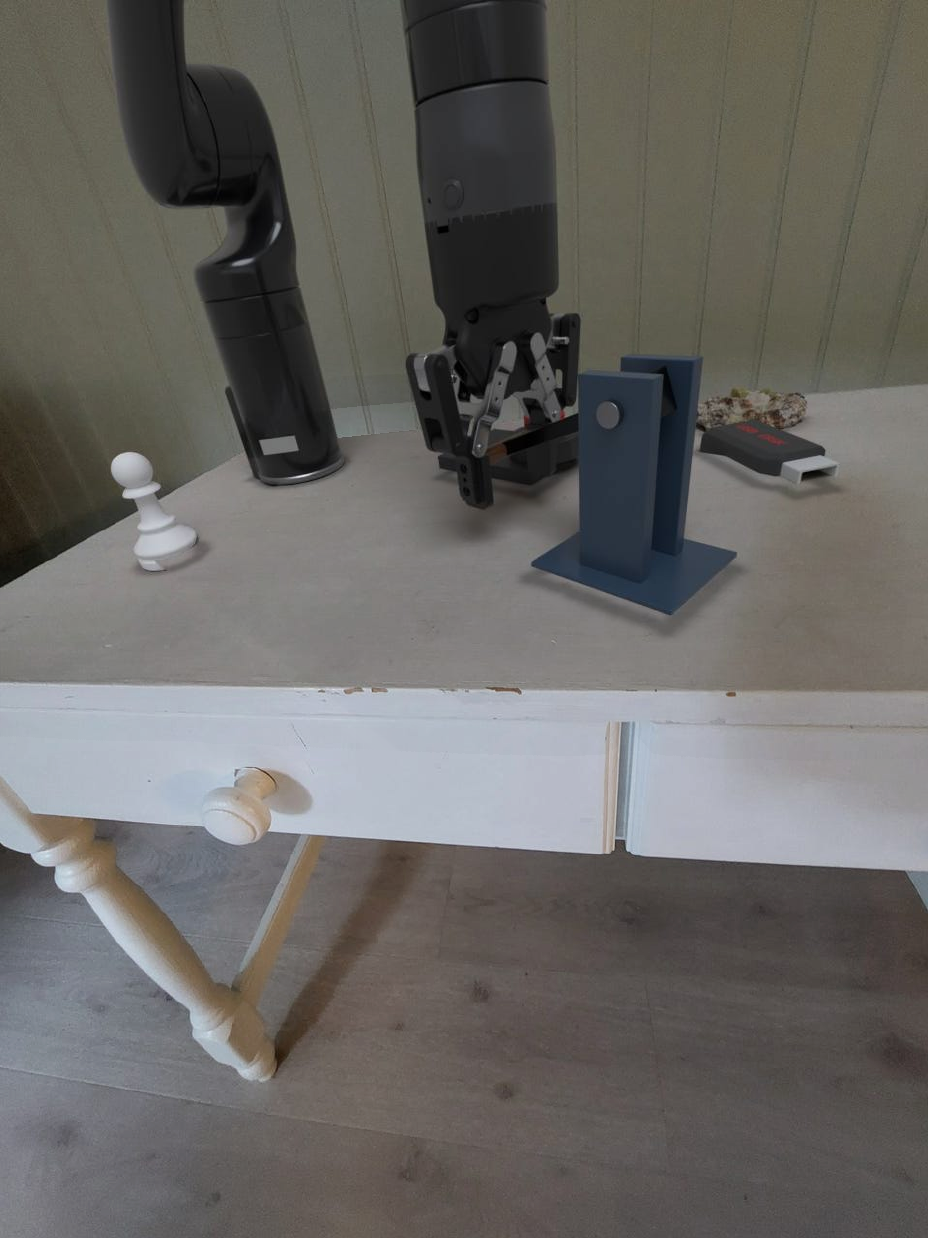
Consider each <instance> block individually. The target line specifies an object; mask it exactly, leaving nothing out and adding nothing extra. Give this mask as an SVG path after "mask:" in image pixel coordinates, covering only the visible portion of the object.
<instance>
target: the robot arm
mask: <svg viewBox="0 0 928 1238" xmlns="http://www.w3.org/2000/svg"><path fill="white" fill-rule="evenodd" d="M547 1H548V0H399V4H400V5H399V6H400V13H401V14H400V15H401V23H402V30H403V36H404V43H405V50H406V59H407V65H408V73H409V81H410V89H411V96H412V97H411V98H412V105H413V108H414V110H413V114H414V116H413V117H414V129H415V131H414V132H415V161H416V163H415V164H416V173H417V181H418V188H419V195H420V202H421V211H422V218H423V226H424V232H425V240H426V247H427V256H428V262H429V269H430V278H431V286H432V293H433V299H434V303H435V306H437V308H439V310H440V311H441V313H442V314H443V317H444V324H445V325H444V333H443V339H442V344H441V345H440V346H438V347H436V348H434V349H432V350H430V351H428V352H419V353H418V352H412V353H409V354H408V355H407V357H406V359H405V370H406V374H407V377H408V381H409V386H410V389H411V393H412V397H413V401H414V405H415V409H416V412H417V416H418V421H419V424H420V427H421V432H422V436H423V439H424V443H425V446H426V448H427V450H428V451H429V452H433V453H439V454H448V455H451V456H454V458H455V461H456V469H457V472H456V475H457V480H458V481H457V482H458V491H459V496H460V498H461V500H462V501H463V502H465V504H466V505H467V506H469V507H471V508H475V509H479V510H482V511H485V510H487V509H489V508H491V507H492V506H494V503H495V499H494V489H493V480H492V479H493V478H491V468H490V458H489V455H488V454H485V452H486V449H487V444H488V440H489V435H490V431H491V430H492V426H493V423H495V422H497V421H498V419H499V418H500V416H501V412H502V407H503V403H504V400H507V399H508V398H510V397H511V396H513V397H514V398H516V399H517V402H518V403H519V405H520V407H521V409H522V412H523V415H524V414H525V416H526V418H527V419H529V420H530V422H528V423H525V430H530V431H531V430H534V429H536V428H539V427H542V426H544V425H547V424H550V423H552V422H555V421H557V420H560V418H561V413H562V412H561V411H562V410H565V409H566V407H567V408H568V407H569V408H572V407H573V406H574V405H575V404H576V402H577V399H578V374H579V360H580V359H579V358H580V343H581V342H580V341H581V324H582V320H581V316H580V314H579V313H577V312H569V313H568V312H563V313H562V312H561V313H553V312H551V313H550V311H549V308H548V303H547V298H549V297H551V296H552V295H553V296H554V294H556V292H557V291H558V290H559V289H558V288H559V286H560V267H559V265H560V263H559V261H560V260H559V233H558V232H559V229H558V227H559V225H558V224H559V223H558V222H559V221H558V189H557V188H558V187H557V184H558V182H557V181H558V180H557V150H556V149H557V148H556V136H555V127H554V121H553V114H552V106H551V94H550V86H549V84H550V74H549V73H550V72H549V71H550V70H549V69H550V68H549V38H548V37H549V36H548V35H549V33H548V13H547V12H548V3H547ZM104 3H105V12H106V21H107V22H106V23H107V33H108V42H109V52H110V61H111V63H110V64H111V71H112V79H113V80H112V81H113V88H114V96H115V104H116V110H117V116H118V122H119V125H120V127H119V128H120V131H121V135H122V140H123V143H124V146H125V150H126V154H127V156H128V158H129V162H130V164H131V167H132V168H133V171H134V174H135V176H136V178H137V180H138V182H139V184H140V185H141V187H142V188H143V189H144V191H145V192H146V194H147V195H148V196H149V197H150V198H151V199H152V200H153V202H155V203H156V204H158V205H160V206H161V207H163V208H166V209H171V210H202V209H213V208H223V211H224V216H225V222H226V234H225V236H224V238H223V240H222V241H221V243H220V245H219V246H218V247H217V248H216V249H215V250H214V251H213V252H212V253H211V254H209V255H208V256H207V257H204V258H203V259H202V260H201V261H199V262H198V263H197V264H196V265H195V266H194V267H193V271H192V276H193V282H194V285H195V288H196V290H197V294H198V297H199V300H200V301H201V304H202V307H203V310H204V313H205V316H206V320H207V322H208V325H209V328H210V332H211V334H212V337H213V339H214V343H215V346H216V349H217V352H218V355H219V358H220V360H221V363H222V367H223V369H224V372H225V376H226V378H227V379H226V380H227V382H228V385H227V386H226V387H224V394H225V397H226V399H227V403H228V406H229V409H230V411H231V414H232V417H233V420H234V423H235V426H236V429H237V432H238V436H239V438H240V440H241V443H242V446H243V449H244V452H245V455H246V458H247V460H248V461H247V462H248V463H249V466H250V469H251V473H252V475H253V477H254V478H255V479H256V478H258V479H259V480H260V481H261V482H262V483H264V484H267V485H277V486H283V485H285V486H287V485H294V484H301V483H306V482H309V481H314V480H317V479H320V478H323V477H326V476H328V475H330V474H332V473H334V472H336V471H338V470H339V469H340V468H341V467H342V466H343V465H344V463H345V458H344V454H343V452H342V451H341V450H342V449H341V446H340V442H339V437H338V435H337V433H338V432H337V430H336V426H335V421H334V417H333V413H332V409H331V404H330V401H329V396H328V392H327V389H326V384H325V380H324V377H323V373H322V369H321V364H320V361H319V357H318V352H317V348H316V344H315V341H314V336H313V333H312V328H311V324H310V322H309V317H308V313H307V308H306V305H305V300H304V296H303V292H302V289H301V287H300V285H301V284H300V281H299V276H298V271H297V241H296V233H295V229H294V224H293V219H292V215H291V210H290V209H291V208H290V205H289V199H288V194H287V188H286V184H285V179H284V173H283V169H282V163H281V159H280V158H281V157H280V154H279V149H278V144H277V140H276V136H275V133H274V128H273V124H272V121H271V119H270V115H269V114H268V110H267V108H266V105H265V103H264V101H263V99H262V96H261V95H260V93H259V91H258V89H257V88H256V86H255V84H254V83H253V82H252V80H250V78H249V77H248V76H247V75H246V74H245V73H244V72H243V71H241V70H240V69H237V68H236V67H233V66H230V65H225V64H224V65H223V64H215V63H206V62H196V61H186V60H187V59H186V43H185V42H186V41H185V0H104ZM557 370H559V371H560V372H561V387H558V382H557V379H556V378H557ZM472 396H473V397H474V398H476V399H477V400H481V402H478V403H474V402H471V397H472ZM472 420H473V423H472V427H471V433H470V435H468V434H469V429H470V425H471V421H472ZM526 451H527V466H528V470H529V471H530V472H531V473H533V474H537V475H542V476H546V477H548V476H551V475H552V474H554V473H555V472H557V470H556V460H557V439H556V440H553V441H550V442H547V443H544V444H541V445H538V446H535V447H532V448H529V449H526Z"/></svg>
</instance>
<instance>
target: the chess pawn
mask: <svg viewBox="0 0 928 1238" xmlns="http://www.w3.org/2000/svg"><path fill="white" fill-rule="evenodd" d="M110 472H111V475H112V477H113V479H114V480H115V481H116V482H117V484H119V485H120V486H122V487H124V490H123V491H122V496H121V497H122V498H123V499H126V500H131V499H132V500H133V501H134V502H135V505H136V508H137V510H138V514H139V519H140V522H139V523H138V524H137V530H138V532H141V533H140V536H139V537H138V539H137V541H136V543H135V545H134V547H133V554H134V555H135V556H137V561H138V563H139V565H140V567H141V568H142V569H144V570H146V571H149V572H161V571H166V570H167V568H165V567H163V566H162V565H161V564H160V563H158V562H157V561H161V560H164V559H165V560H166V559H168V558H172V557H175V556H177V555H178V556H179V555H181V554H183V553H184V552H186V551H188V550H189V549H191V548H192V547H193V546H194V545H195V544H196V543H197V538H198V534H197V531H196V530H195V529H193V528H192V527H189V526H186V525H184V524H181V523H179V522H176V516H175V515H174V514H172V513H168V512H167V511H166V510H165V509H164V506H162V505H161V502H160V501H159V499H158V498H157V496H156V494H155V493H156V492H158V491H159V490H160V489H161V488H162V485H161V484H160V483H158V482H156V481H154V480H153V476H154V470H153V466H152V463H151V462H150V461H149V460H148V458H147V457H146V456H144V455H142V454H141V453H138V452H134V451H127V452H122V453H119V454H118V455H116V456H115V457H114V458H113V459H112V462H111V463H110Z"/></svg>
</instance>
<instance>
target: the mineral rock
mask: <svg viewBox="0 0 928 1238" xmlns="http://www.w3.org/2000/svg"><path fill="white" fill-rule="evenodd" d="M805 399H806V398H805V396H804V395H803V394H802V393H800V392H798V391H797V392H796V391H794V392H779V391H778V392H777V391H771V390H770V389H769V388H764V389H760V390H756V391H751V390H749V389H747V388H744V387H743V386H740V385H739V386H734V387H732V389H731V392H730V395H729V396H726V397H722V396H719V395H718V396H716V397H715V396H712V397H710V398H709V399H707V400H706V401H703V402H698V410H697V419H696V424H698V425H701V426H702V427H704V428H705V432H706V431H707V430H708V429H709V428H711V427H716V426H721V425H727V424H732V423H737V422H742V421H748V420H757V421H760V422H763V423H765V424H768V425H770V426H773V427H775V428H778V429H783V428H788V427H793V425H795V424H798V422H799V421H801V420H802V419H804V418H805V416H806V413H807V410H808V405H807V404H808V401H807V400H805Z"/></svg>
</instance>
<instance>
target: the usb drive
mask: <svg viewBox="0 0 928 1238" xmlns="http://www.w3.org/2000/svg"><path fill="white" fill-rule="evenodd" d="M699 445H700V446H699V453H701V454H707V455H708V454H709V455H716V456H722V457H727V458H729V459H730V460H733V461H734V462H737V463H738V464H740V465H742V466H744V467H745V468H748V469H749V470H751V471H754V472H756V473H758V474H762V475H765V476H771V477H781V478H783V479H784V480H787V481H789V482H791V483H792V484H795V485H800V484H801V481H802V476H803V473H806V472H811V471H820V472H822V473H824V474H827V475H829V476H831V477H833V478H836V477H838V474H839V470H840V467H841V463H840V462H838V461H835V460H833V459H830V458H828V457H826V456H825V455H826V451H827V450H826V448H824V446H823V445H821V444H819V443H816V442H814V441H810V440H808V439H805V438H803V437H801V436H798V435H796V434H793V433H791V432H788V431H785V430H782V429H781V428H775V427H773V426H770V425H768V424H765V423H763V422H760V421H757V420H748V421H742V422H737V423H732V424H727V425H721V426H716V427H711V428H709V429H708V430H707V431H706V430H705V432H703V433H702V435H701V438H700V444H699Z"/></svg>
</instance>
